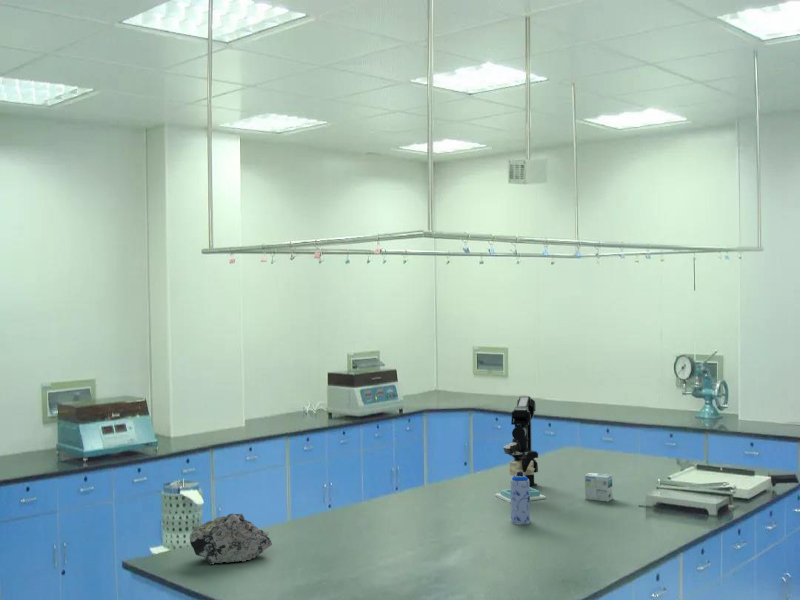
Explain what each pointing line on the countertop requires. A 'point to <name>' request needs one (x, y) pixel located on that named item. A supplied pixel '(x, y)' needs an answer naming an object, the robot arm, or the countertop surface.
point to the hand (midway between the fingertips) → (521, 471)
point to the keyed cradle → (507, 495)
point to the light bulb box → (598, 487)
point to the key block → (520, 468)
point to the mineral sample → (229, 539)
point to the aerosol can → (520, 499)
